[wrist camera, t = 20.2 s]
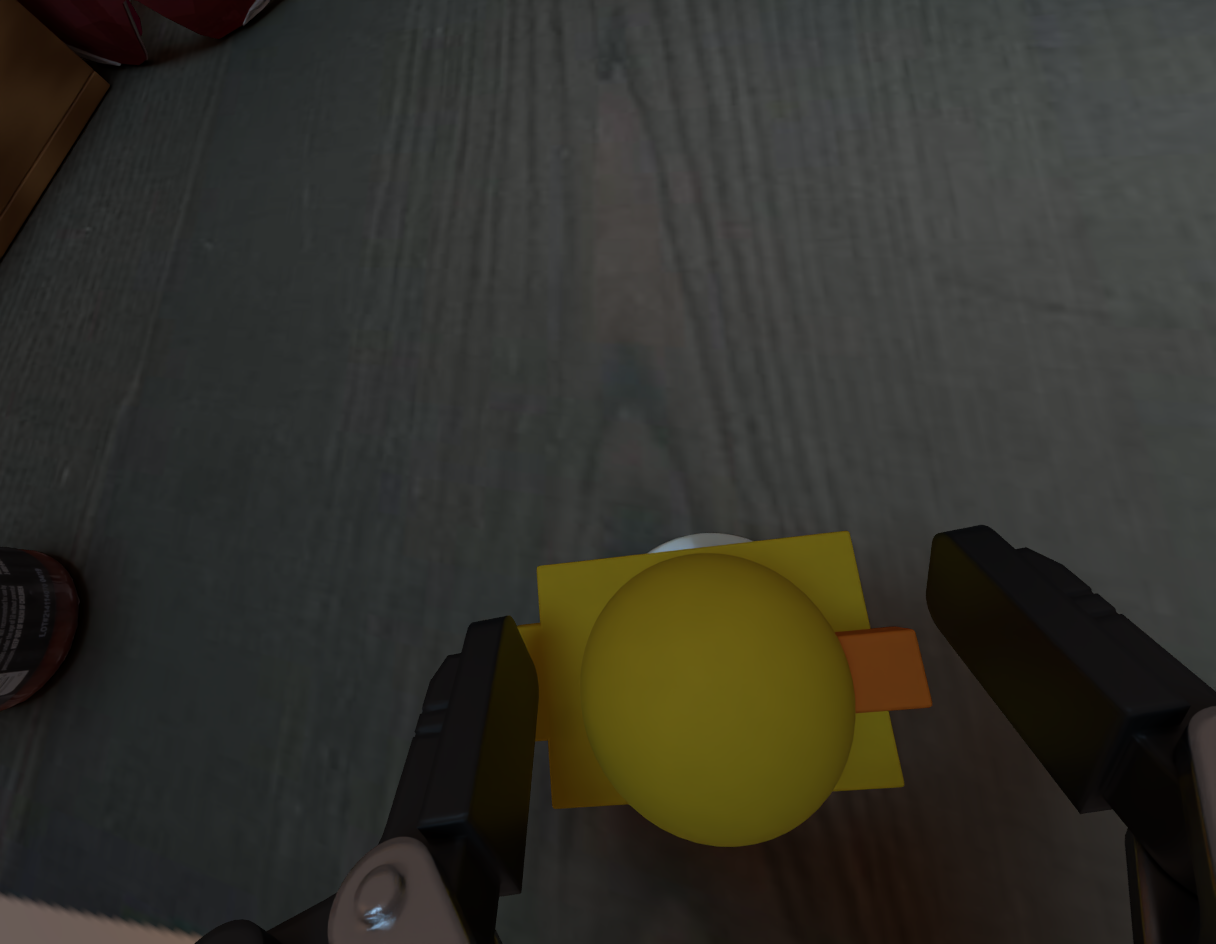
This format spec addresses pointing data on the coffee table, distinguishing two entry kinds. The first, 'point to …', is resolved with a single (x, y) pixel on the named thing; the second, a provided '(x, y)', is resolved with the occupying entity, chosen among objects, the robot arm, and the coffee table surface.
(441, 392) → the coffee table surface
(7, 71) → the chest
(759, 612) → the duck
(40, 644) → the supplement bottle
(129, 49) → the sunglasses
